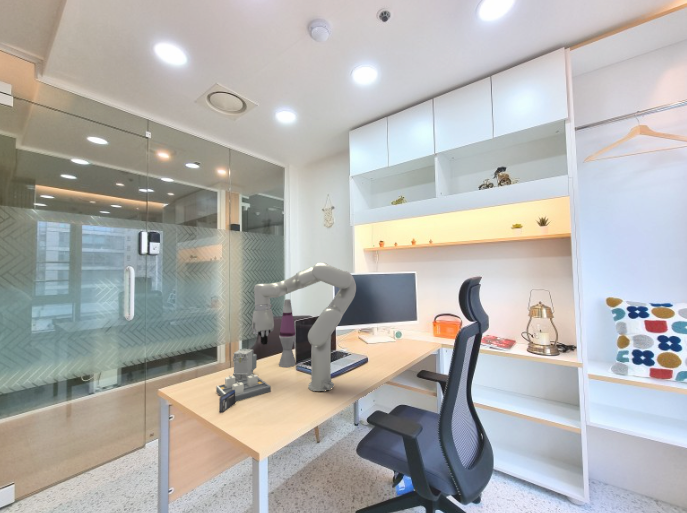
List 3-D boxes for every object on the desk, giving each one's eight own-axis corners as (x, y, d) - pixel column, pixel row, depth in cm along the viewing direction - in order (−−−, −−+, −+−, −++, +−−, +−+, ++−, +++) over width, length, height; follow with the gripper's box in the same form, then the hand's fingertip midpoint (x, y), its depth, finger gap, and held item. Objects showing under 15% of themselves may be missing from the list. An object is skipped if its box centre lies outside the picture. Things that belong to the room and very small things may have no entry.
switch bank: (270, 391, 137) (270, 385, 138) (227, 404, 125) (227, 397, 125) (256, 381, 151) (256, 375, 151) (216, 391, 138) (216, 385, 138)
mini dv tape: (222, 412, 117) (222, 397, 118) (219, 412, 118) (219, 397, 118) (235, 403, 125) (235, 389, 125) (232, 403, 126) (232, 389, 126)
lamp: (281, 361, 183) (281, 298, 185) (298, 361, 182) (298, 298, 184) (276, 367, 172) (276, 300, 174) (293, 367, 171) (293, 300, 173)
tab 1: (235, 385, 139) (235, 376, 139) (226, 387, 137) (227, 378, 137) (233, 383, 142) (233, 374, 142) (224, 386, 139) (225, 376, 139)
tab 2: (243, 393, 131) (243, 382, 131) (234, 395, 128) (234, 385, 128) (241, 390, 133) (241, 380, 133) (232, 393, 130) (232, 383, 131)
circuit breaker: (257, 373, 162) (257, 346, 163) (246, 383, 148) (246, 353, 149) (244, 373, 163) (245, 346, 164) (232, 382, 149) (233, 353, 150)
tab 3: (257, 384, 141) (257, 374, 141) (249, 386, 138) (249, 376, 138) (255, 382, 143) (255, 373, 143) (247, 384, 140) (247, 375, 141)
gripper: (272, 305, 154) (274, 340, 153) (245, 309, 144) (247, 346, 143) (279, 306, 149) (281, 342, 148) (251, 310, 139) (253, 348, 138)
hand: (264, 344), depth 146 cm, fingers closed
